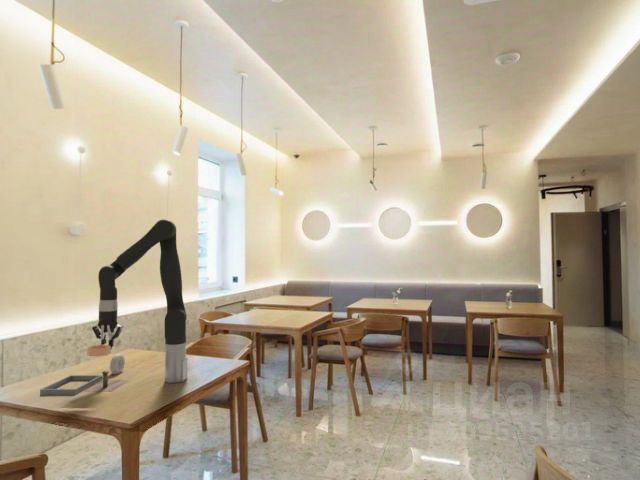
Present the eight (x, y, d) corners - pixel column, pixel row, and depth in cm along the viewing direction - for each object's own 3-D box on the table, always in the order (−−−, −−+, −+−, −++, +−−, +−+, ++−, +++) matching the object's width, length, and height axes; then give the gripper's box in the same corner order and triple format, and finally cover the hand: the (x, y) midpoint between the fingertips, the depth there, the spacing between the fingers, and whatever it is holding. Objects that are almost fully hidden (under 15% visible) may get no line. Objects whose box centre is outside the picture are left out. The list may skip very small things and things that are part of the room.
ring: (118, 349, 186) (118, 342, 186) (103, 356, 174) (103, 349, 174) (100, 349, 186) (100, 342, 187) (83, 356, 174) (83, 349, 174)
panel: (129, 382, 187) (130, 365, 188) (111, 393, 171) (111, 375, 172) (104, 382, 188) (104, 365, 188) (83, 393, 172) (83, 376, 172)
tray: (102, 381, 188) (102, 375, 188) (75, 396, 168) (76, 389, 168) (70, 381, 188) (70, 375, 188) (39, 396, 168) (40, 389, 168)
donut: (115, 377, 195) (115, 356, 195) (108, 377, 195) (108, 356, 195) (126, 371, 205) (126, 351, 205) (119, 371, 205) (119, 351, 205)
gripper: (127, 308, 189) (126, 346, 188) (97, 308, 189) (96, 346, 188) (119, 310, 181) (118, 350, 181) (88, 310, 182) (87, 349, 181)
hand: (107, 347), depth 185 cm, fingers closed on ring, 2 cm apart
